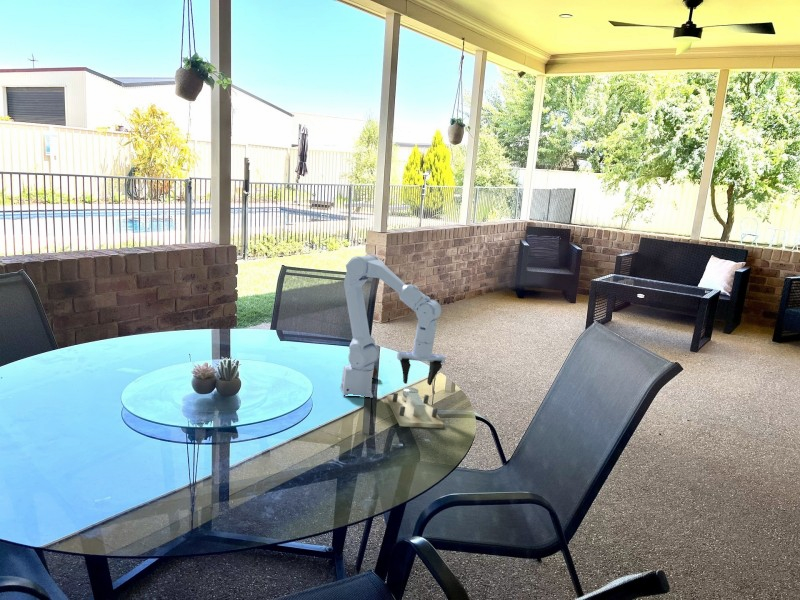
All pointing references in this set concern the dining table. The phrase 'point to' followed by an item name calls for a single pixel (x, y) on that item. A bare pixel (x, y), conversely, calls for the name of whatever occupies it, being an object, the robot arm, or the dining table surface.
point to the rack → (408, 419)
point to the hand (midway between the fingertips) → (417, 383)
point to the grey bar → (413, 401)
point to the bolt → (374, 372)
